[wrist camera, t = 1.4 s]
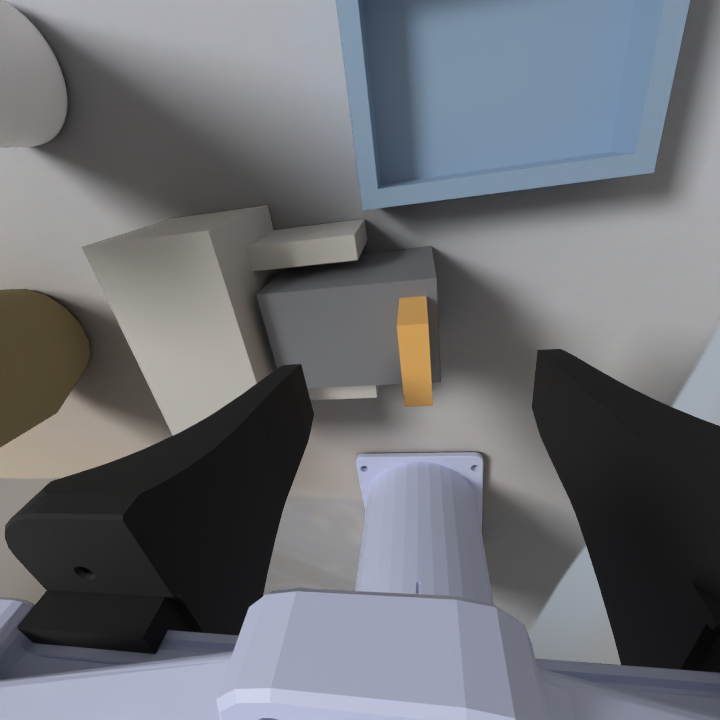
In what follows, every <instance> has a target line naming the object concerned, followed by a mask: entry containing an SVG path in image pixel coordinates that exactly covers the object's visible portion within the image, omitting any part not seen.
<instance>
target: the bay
mask: <svg viewBox="0 0 720 720" xmlns="http://www.w3.org/2000/svg"><path fill="white" fill-rule="evenodd" d="M366 242H367V234H366V226H365V219H359V220H351V221H343V222H335V223H327V224H319V225H311V226H303V227H295V228H287V229H279V230H274V229H273V225H272V221H271V217H270V212H269V208H268V205H265V206H257V207H250V208H243V209H236V210H228V211H221V212H214V213H207V214H200V215H192V216H185V217H178V218H172V219H169V220H166V221H163V222H159V223H156V224H153V225H150V226H147V227H143V228H140V229H137V230H134V231H131V232H128V233H124V234H121V235H118V236H115V237H112V238H109V239H105V240H102V241H99V242H96V243H93V244H90V245H86V246H83V247H82V249H83V251H84V253H85V255H86V257H87V259H88V261H89V263H90V265H91V267H92V269H93V271H94V273H95V276H96V278H97V280H98V282H99V284H100V286H101V288H102V290H103V292H104V294H105V296H106V298H107V300H108V302H109V305H110V307H111V309H112V311H113V313H114V315H115V317H116V319H117V321H118V323H119V325H120V327H121V329H122V331H123V334H124V336H125V338H126V340H127V342H128V344H129V346H130V348H131V350H132V352H133V354H134V356H135V358H136V361H137V363H138V365H139V367H140V369H141V371H142V373H143V375H144V377H145V379H146V381H147V383H148V385H149V387H150V390H151V392H152V394H153V396H154V398H155V400H156V402H157V404H158V406H159V408H160V410H161V412H162V414H163V416H164V419H165V421H166V423H167V425H168V427H169V429H170V431H171V433H172V435H176V434H178V433H180V432H182V431H184V430H185V429H187V428H189V427H191V426H193V425H195V424H196V423H198V422H200V421H202V420H203V419H205V418H207V417H208V416H210V415H212V414H213V413H215V412H216V411H218V410H219V409H221V408H222V407H224V406H225V405H227V404H228V403H230V402H231V401H233V400H234V399H236V398H237V397H239V396H240V395H242V394H243V393H244V392H246V391H247V390H248V389H250V388H251V387H253V386H254V385H255V384H257V383H258V382H259V381H261V380H262V379H263V378H265V377H266V376H268V375H269V374H270V373H272V372H273V371H275V370H276V369H277V367H276V363H275V360H274V356H273V353H272V349H271V346H270V342H269V339H268V335H267V331H266V328H265V324H264V321H263V317H262V314H261V310H260V307H259V303H258V300H257V296H256V295H257V294H258V293H259V292H260V291H261V290H262V289H263V288H264V287H265V286H266V285H267V284H268V283H269V282H270V281H271V280H272V279H273V278H274V277H275V276H276V275H277V274H278V273H280V272H281V271H282V270H283V268H289V267H298V266H308V265H317V264H326V263H336V262H345V261H355V260H358V259H359V257H360V255H361V253H362V251H363V248H364V246H365V244H366ZM307 389H308V393H309V397H310V400H331V399H356V398H377V395H378V389H379V385H369V386H348V387H326V388H307Z"/></svg>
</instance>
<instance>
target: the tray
mask: <svg viewBox="0 0 720 720" xmlns="http://www.w3.org/2000/svg"><path fill="white" fill-rule="evenodd" d="M689 3H690V0H336V6H337V14H338V22H339V30H340V38H341V45H342V53H343V61H344V69H345V77H346V85H347V93H348V100H349V108H350V116H351V124H352V132H353V140H354V148H355V156H356V163H357V171H358V179H359V187H360V195H361V203H362V210H370V209H378V208H385V207H393V206H401V205H408V204H416V203H424V202H432V201H439V200H447V199H455V198H463V197H470V196H478V195H486V194H493V193H501V192H509V191H517V190H524V189H532V188H540V187H548V186H555V185H563V184H571V183H578V182H586V181H594V180H602V179H609V178H617V177H625V176H633V175H640V174H648V173H654V170H655V165H656V160H657V155H658V151H659V146H660V141H661V136H662V132H663V127H664V122H665V117H666V113H667V108H668V103H669V98H670V94H671V89H672V84H673V79H674V75H675V70H676V65H677V60H678V56H679V51H680V46H681V41H682V37H683V32H684V27H685V22H686V18H687V13H688V8H689Z"/></svg>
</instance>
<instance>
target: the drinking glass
mask: <svg viewBox="0 0 720 720" xmlns="http://www.w3.org/2000/svg"><path fill="white" fill-rule="evenodd" d="M67 104H68V103H67V90H66V85H65V81H64V77H63V74H62V71H61V68H60V66H59V63H58V61H57V59H56V57H55V55H54V53H53V51H52V49H51V48H50V46H49V44H48V43H47V41H46V40H45V38H44V37H43V36H42V34H41V33H40V32H39V31H38V29H37V28H36V27H35V26H34V25H33V24H32V23H31V22H30V20H29V19H27V18H26V17H25V16H24V15H23V14H22V13H21V12H20V11H18V10H17V9H16V8H15V7H13V6H12V5H10V4H9V3H7V2H6V1H4V0H0V148H10V147H34V146H39V145H42V144H45V143H47V142H49V141H50V140H52V139H53V138H54V137H55V136H56V135H57V134H58V133H59V132H60V130H61V128H62V126H63V124H64V122H65V119H66V114H67Z"/></svg>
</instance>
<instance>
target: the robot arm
mask: <svg viewBox="0 0 720 720" xmlns="http://www.w3.org/2000/svg"><path fill="white" fill-rule="evenodd" d="M532 409H533V413H534V416H535V420H536V423H537V427H538V430H539V433H540V436H541V438H542V441H543V443H544V445H545V447H546V450H547V452H548V454H549V456H550V458H551V460H552V463H553V465H554V467H555V469H556V471H557V473H558V475H559V478H560V480H561V482H562V484H563V486H564V488H565V490H566V493H567V495H568V497H569V499H570V501H571V504H572V506H573V509H574V511H575V513H576V516H577V519H578V522H579V525H580V528H581V531H582V534H583V537H584V540H585V543H586V546H587V549H588V552H589V555H590V558H591V561H592V564H593V567H594V571H595V574H596V577H597V580H598V583H599V587H600V590H601V594H602V597H603V601H604V604H605V607H606V610H607V614H608V618H609V621H610V625H611V628H612V631H613V635H614V639H615V642H616V646H617V650H618V654H619V658H620V661H621V665H612V664H599V663H587V662H574V661H573V662H572V661H561V660H547V659H535V656H534V652H533V647H532V643H531V641H530V639H529V636H528V633H527V631H526V628H525V626H524V624H523V623H521V622H520V621H519V620H517V619H516V618H515V617H513V616H511V615H510V614H508V613H506V612H505V611H503V610H501V609H500V608H498V607H496V606H495V605H494V604H493V598H492V592H491V586H490V580H489V574H488V568H487V562H486V556H485V550H484V544H483V538H482V498H483V458H482V455H481V454H479V453H476V452H454V453H382V454H360V455H358V456H357V458H356V466H357V472H358V477H359V482H360V487H361V492H362V497H363V503H364V508H365V513H366V514H365V521H364V529H363V536H362V543H361V551H360V558H359V565H358V573H357V580H356V588H355V591H347V590H327V589H308V588H296V589H288V590H279V591H272V592H270V593H268V594H266V595H264V596H263V593H264V588H265V583H266V578H267V573H268V569H269V564H270V560H271V556H272V551H273V547H274V543H275V538H276V535H277V531H278V527H279V523H280V519H281V515H282V511H283V508H284V505H285V502H286V499H287V496H288V494H289V491H290V488H291V486H292V483H293V480H294V478H295V475H296V472H297V470H298V467H299V465H300V462H301V459H302V456H303V454H304V451H305V448H306V445H307V443H308V439H309V435H310V431H311V426H312V421H313V416H314V413H313V409H312V405H311V401H310V397H309V393H308V389H307V385H306V381H305V377H304V373H303V369H302V365H301V364H292V365H283V366H281V367H279V368H278V369H276V370H275V371H273V372H272V373H270V374H269V375H268V376H266V377H265V378H263V379H262V380H261V381H259V382H258V383H257V384H255V385H254V386H253V387H251V388H250V389H248V390H247V391H246V392H244V393H243V394H242V395H240V396H239V397H237V398H236V399H234V400H233V401H231V402H230V403H228V404H227V405H225V406H224V407H222V408H221V409H219V410H218V411H216V412H215V413H213V414H212V415H210V416H208V417H207V418H205V419H203V420H202V421H200V422H198V423H196V424H195V425H193V426H191V427H189V428H187V429H185V430H184V431H182V432H180V433H178V434H176V435H173V436H171V437H169V438H167V439H165V440H163V441H161V442H159V443H156V444H154V445H152V446H150V447H148V448H146V449H143V450H141V451H138V452H136V453H133V454H131V455H128V456H126V457H123V458H121V459H118V460H115V461H113V462H110V463H107V464H104V465H101V466H99V467H95V468H92V469H89V470H86V471H83V472H80V473H77V474H73V475H70V476H67V477H64V478H61V479H57V480H54V481H51V482H50V483H49V484H47V485H46V486H45V487H44V488H43V489H42V490H41V491H40V492H39V493H38V494H37V495H36V496H35V497H34V498H32V499H31V500H30V501H29V502H28V503H27V504H26V505H25V506H24V507H23V508H22V509H21V510H20V511H19V512H17V513H16V514H15V515H14V516H13V517H12V518H11V519H10V521H9V522H8V523H7V524H6V526H5V539H6V542H7V544H8V547H9V549H10V550H11V551H12V553H13V554H14V555H15V557H16V558H17V559H18V560H19V561H20V562H21V563H22V564H23V565H24V566H25V568H26V569H27V570H28V571H29V572H30V573H31V574H32V575H33V576H34V577H35V578H36V579H37V581H39V583H40V584H41V585H42V586H43V587H44V588H45V589H46V590H47V591H46V592H45V594H44V595H43V596H42V597H41V599H40V600H39V601H38V602H37V603H36V605H34V604H33V603H31V602H28V601H26V600H22V599H14V598H0V720H720V426H718V425H715V424H712V423H710V422H707V421H704V420H702V419H699V418H696V417H694V416H692V415H689V414H687V413H684V412H682V411H680V410H677V409H675V408H672V407H670V406H667V405H665V404H663V403H661V402H659V401H656V400H654V399H652V398H650V397H648V396H646V395H644V394H642V393H640V392H638V391H636V390H634V389H632V388H630V387H628V386H626V385H624V384H622V383H621V382H619V381H617V380H615V379H613V378H611V377H610V376H608V375H606V374H604V373H603V372H601V371H599V370H597V369H596V368H594V367H592V366H590V365H589V364H587V363H585V362H584V361H582V360H580V359H578V358H577V357H575V356H573V355H571V354H570V353H568V352H566V351H564V350H562V349H551V350H538V352H537V362H536V372H535V382H534V392H533V402H532ZM473 465H477V466H475V467H473ZM363 466H366V467H363Z"/></svg>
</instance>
